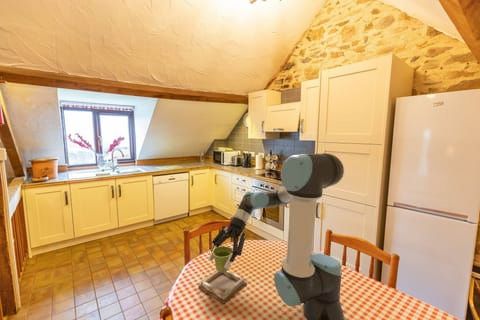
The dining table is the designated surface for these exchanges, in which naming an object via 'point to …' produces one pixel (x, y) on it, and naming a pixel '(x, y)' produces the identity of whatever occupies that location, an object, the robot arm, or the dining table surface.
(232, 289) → the stand
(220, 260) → the plant pot
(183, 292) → the dining table surface
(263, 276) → the dining table surface
